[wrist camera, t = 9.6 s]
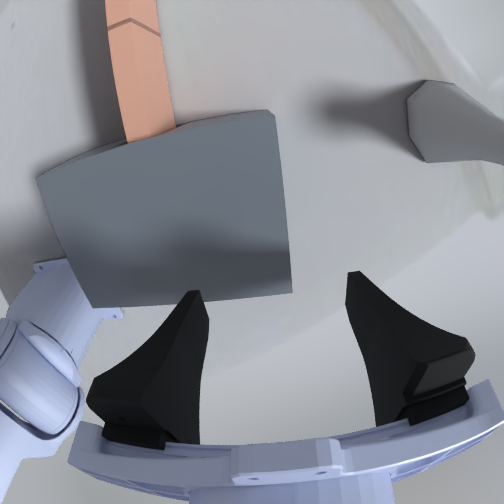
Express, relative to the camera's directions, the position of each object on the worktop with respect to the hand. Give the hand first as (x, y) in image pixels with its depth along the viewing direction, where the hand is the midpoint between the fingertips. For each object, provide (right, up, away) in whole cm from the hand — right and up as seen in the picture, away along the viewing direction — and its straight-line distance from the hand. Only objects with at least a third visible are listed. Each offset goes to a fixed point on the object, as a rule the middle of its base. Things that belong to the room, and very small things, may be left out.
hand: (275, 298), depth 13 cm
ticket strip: (-8, +16, +1) cm, 18 cm away
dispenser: (-6, +7, +7) cm, 12 cm away
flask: (+14, +13, +4) cm, 19 cm away
